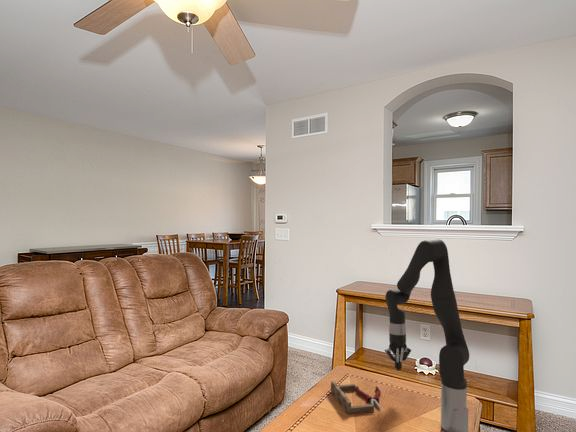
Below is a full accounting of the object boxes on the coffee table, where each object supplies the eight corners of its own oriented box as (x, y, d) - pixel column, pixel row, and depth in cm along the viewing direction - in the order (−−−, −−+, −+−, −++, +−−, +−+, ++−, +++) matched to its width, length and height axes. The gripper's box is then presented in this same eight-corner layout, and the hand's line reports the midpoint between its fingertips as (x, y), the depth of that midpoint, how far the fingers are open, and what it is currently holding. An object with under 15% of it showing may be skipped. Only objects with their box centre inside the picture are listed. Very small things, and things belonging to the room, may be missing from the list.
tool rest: (373, 411, 153) (374, 400, 153) (347, 414, 150) (347, 402, 150) (354, 389, 173) (354, 378, 173) (330, 391, 170) (330, 380, 170)
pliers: (363, 412, 153) (363, 406, 153) (354, 390, 173) (354, 384, 173) (390, 412, 153) (390, 406, 153) (378, 390, 173) (378, 385, 173)
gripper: (388, 335, 162) (389, 374, 162) (414, 333, 165) (415, 371, 164) (380, 330, 170) (381, 367, 169) (406, 329, 172) (406, 365, 172)
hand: (398, 369), depth 167 cm, fingers closed
